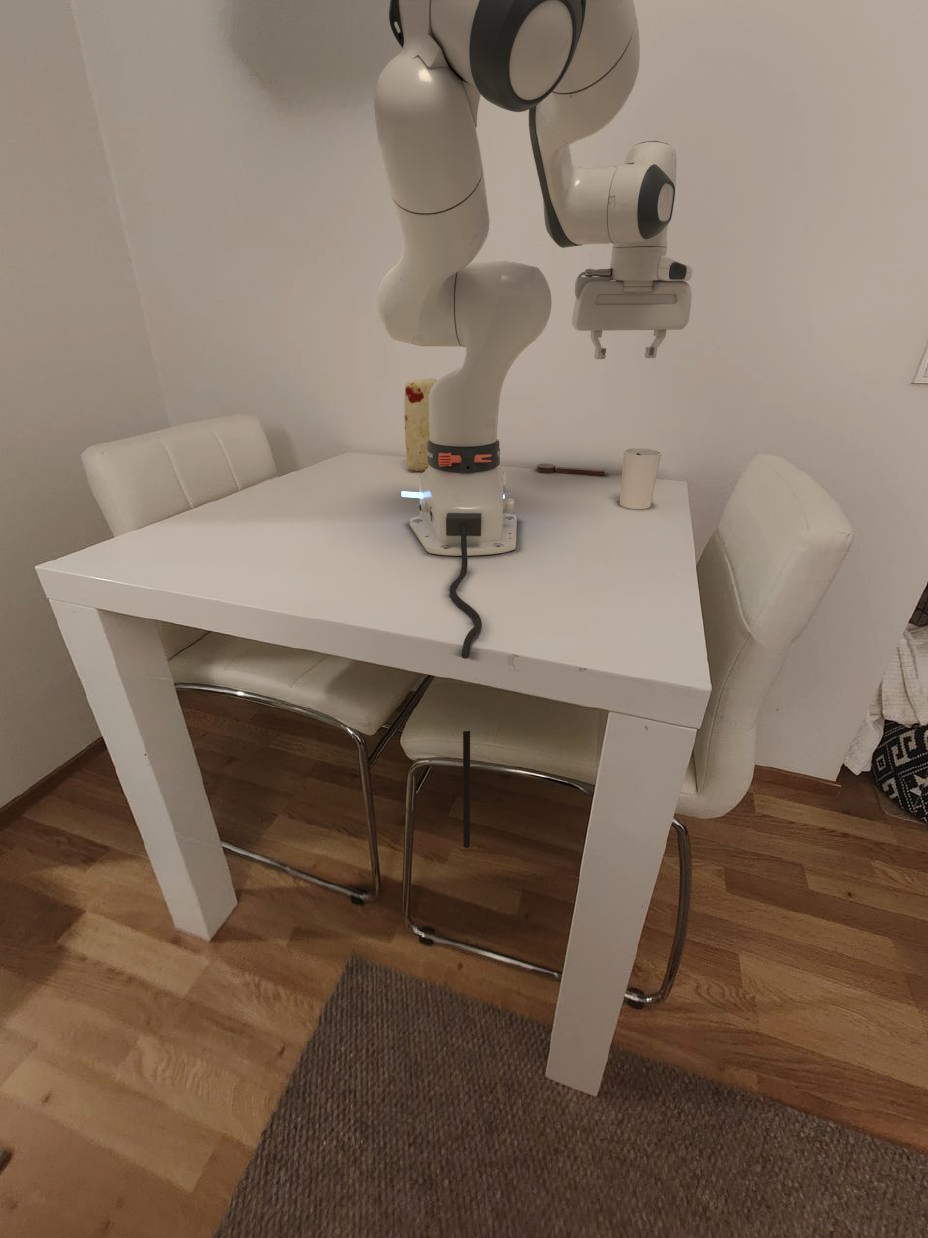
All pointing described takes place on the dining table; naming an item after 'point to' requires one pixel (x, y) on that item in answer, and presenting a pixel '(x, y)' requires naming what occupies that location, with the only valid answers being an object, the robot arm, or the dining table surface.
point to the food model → (417, 422)
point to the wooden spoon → (568, 470)
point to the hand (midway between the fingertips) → (624, 358)
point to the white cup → (639, 477)
